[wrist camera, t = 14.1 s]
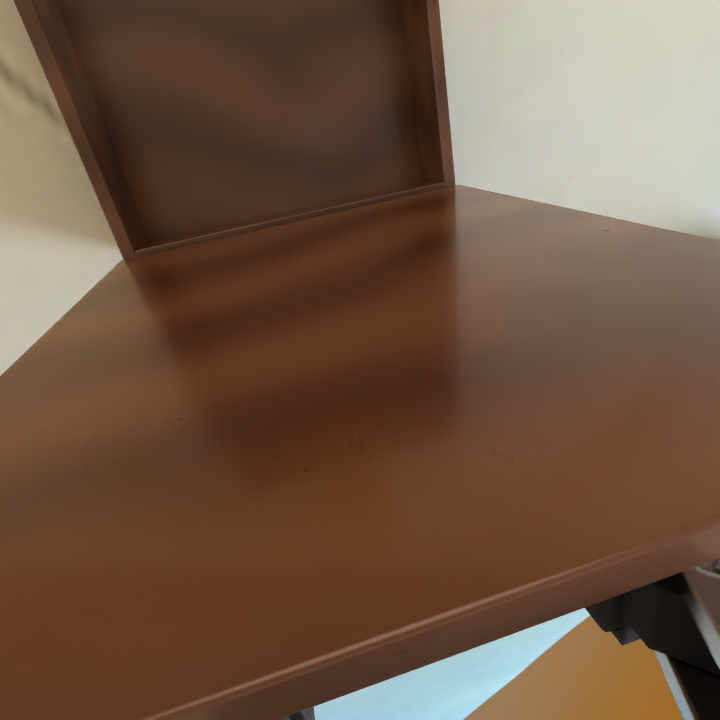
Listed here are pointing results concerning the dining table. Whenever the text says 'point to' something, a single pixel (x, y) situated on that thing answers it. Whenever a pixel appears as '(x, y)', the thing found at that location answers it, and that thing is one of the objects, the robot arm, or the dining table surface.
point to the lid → (350, 453)
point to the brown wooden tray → (245, 109)
